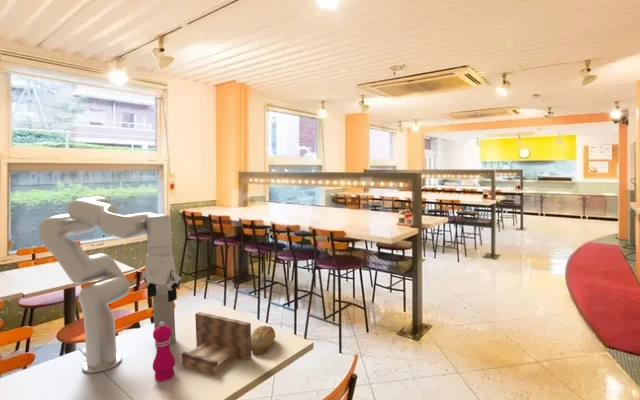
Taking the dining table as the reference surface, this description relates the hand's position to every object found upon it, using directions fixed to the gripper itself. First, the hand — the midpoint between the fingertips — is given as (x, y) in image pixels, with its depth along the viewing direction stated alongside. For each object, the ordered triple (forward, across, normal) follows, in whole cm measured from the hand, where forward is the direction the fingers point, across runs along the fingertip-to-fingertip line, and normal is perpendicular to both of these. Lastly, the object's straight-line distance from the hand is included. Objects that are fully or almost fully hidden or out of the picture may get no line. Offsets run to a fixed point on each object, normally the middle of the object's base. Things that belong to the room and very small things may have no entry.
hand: (162, 298), depth 123 cm
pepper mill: (+28, 0, -1) cm, 28 cm away
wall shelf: (+28, +8, +15) cm, 33 cm away
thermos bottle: (+28, -20, +18) cm, 39 cm away
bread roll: (+28, +21, +31) cm, 47 cm away
